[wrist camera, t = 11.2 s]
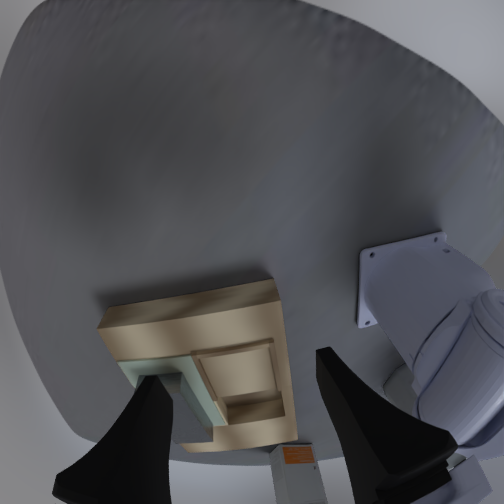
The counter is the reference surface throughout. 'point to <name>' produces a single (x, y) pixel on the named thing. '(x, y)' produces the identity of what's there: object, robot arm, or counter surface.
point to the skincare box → (296, 475)
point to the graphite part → (185, 410)
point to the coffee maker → (409, 400)
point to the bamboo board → (215, 358)
